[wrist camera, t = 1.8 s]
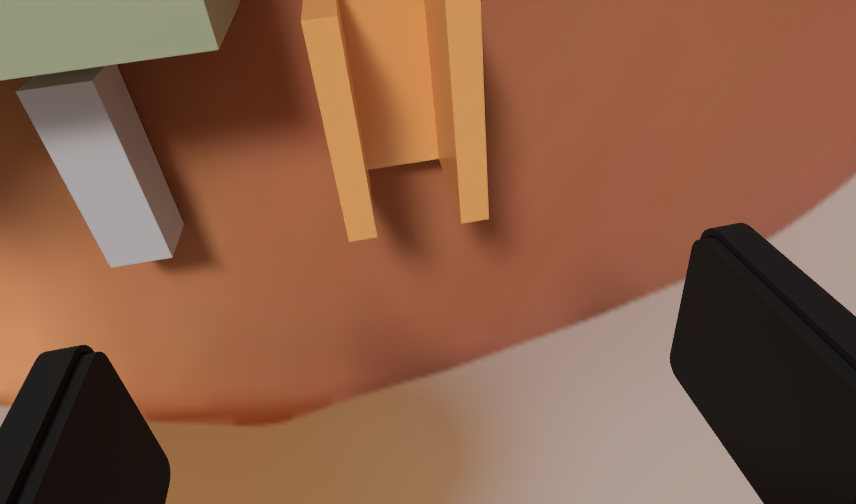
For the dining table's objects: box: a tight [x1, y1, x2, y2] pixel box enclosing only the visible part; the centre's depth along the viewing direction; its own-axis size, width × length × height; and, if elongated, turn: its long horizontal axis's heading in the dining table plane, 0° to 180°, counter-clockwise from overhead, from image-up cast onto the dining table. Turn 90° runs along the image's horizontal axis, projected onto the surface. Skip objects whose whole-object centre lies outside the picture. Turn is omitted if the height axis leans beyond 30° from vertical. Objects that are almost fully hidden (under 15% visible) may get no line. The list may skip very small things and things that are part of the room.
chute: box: [301, 0, 489, 242], centre depth 17 cm, size 4×6×5 cm, turn 6°
